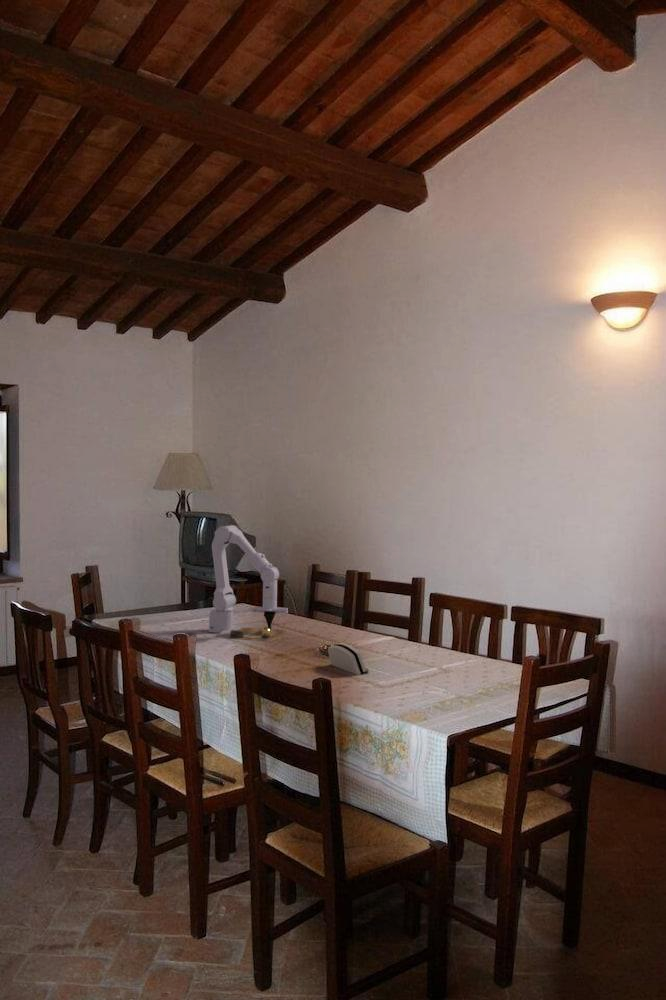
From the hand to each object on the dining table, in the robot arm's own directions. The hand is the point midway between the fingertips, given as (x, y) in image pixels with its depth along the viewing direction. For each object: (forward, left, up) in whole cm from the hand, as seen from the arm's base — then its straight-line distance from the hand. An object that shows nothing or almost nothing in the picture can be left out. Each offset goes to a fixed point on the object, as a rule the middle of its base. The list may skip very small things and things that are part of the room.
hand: (269, 630), depth 340 cm
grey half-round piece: (+39, -46, -3) cm, 60 cm away
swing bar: (-1, -3, -1) cm, 3 cm away
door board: (-4, -3, -2) cm, 6 cm away
